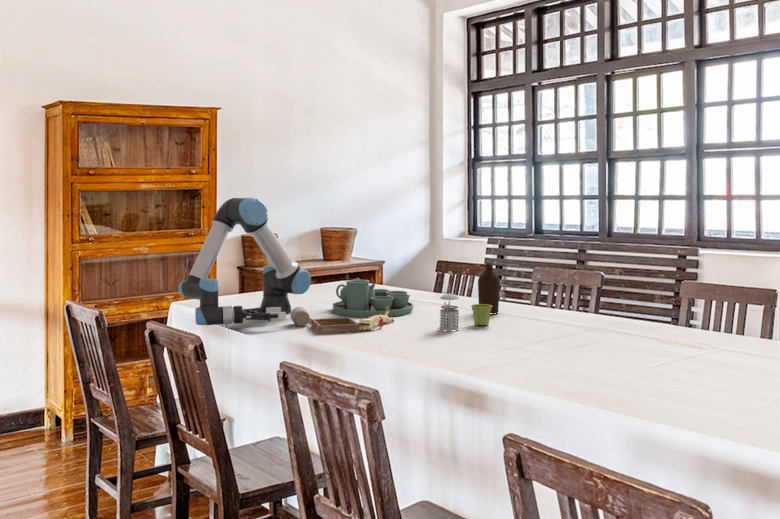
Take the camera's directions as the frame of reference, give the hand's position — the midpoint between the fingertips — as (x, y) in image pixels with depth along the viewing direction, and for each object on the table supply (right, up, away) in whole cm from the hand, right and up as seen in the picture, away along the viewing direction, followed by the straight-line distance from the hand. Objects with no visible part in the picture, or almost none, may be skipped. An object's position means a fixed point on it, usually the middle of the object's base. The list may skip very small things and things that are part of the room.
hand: (283, 312), depth 298 cm
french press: (+71, -7, -6) cm, 72 cm away
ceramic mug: (+8, -6, +4) cm, 11 cm away
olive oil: (+94, -3, +37) cm, 101 cm away
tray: (+23, -7, -6) cm, 25 cm away
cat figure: (+40, -7, +1) cm, 41 cm away
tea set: (+38, -3, +42) cm, 57 cm away
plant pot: (+86, -6, +5) cm, 87 cm away
